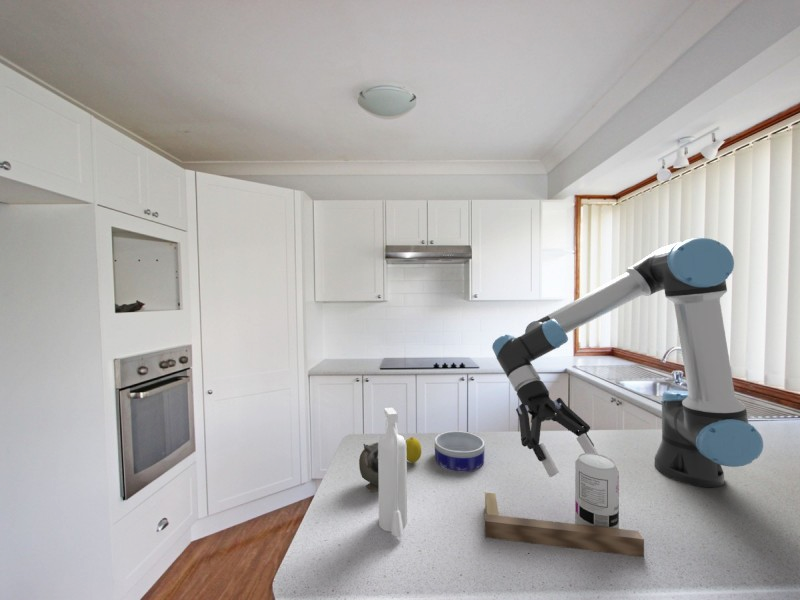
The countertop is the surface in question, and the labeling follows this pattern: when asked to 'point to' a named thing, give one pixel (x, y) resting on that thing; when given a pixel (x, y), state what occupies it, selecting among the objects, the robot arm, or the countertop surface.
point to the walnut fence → (560, 533)
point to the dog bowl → (459, 451)
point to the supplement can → (596, 491)
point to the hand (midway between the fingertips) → (576, 468)
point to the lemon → (413, 449)
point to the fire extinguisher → (392, 477)
